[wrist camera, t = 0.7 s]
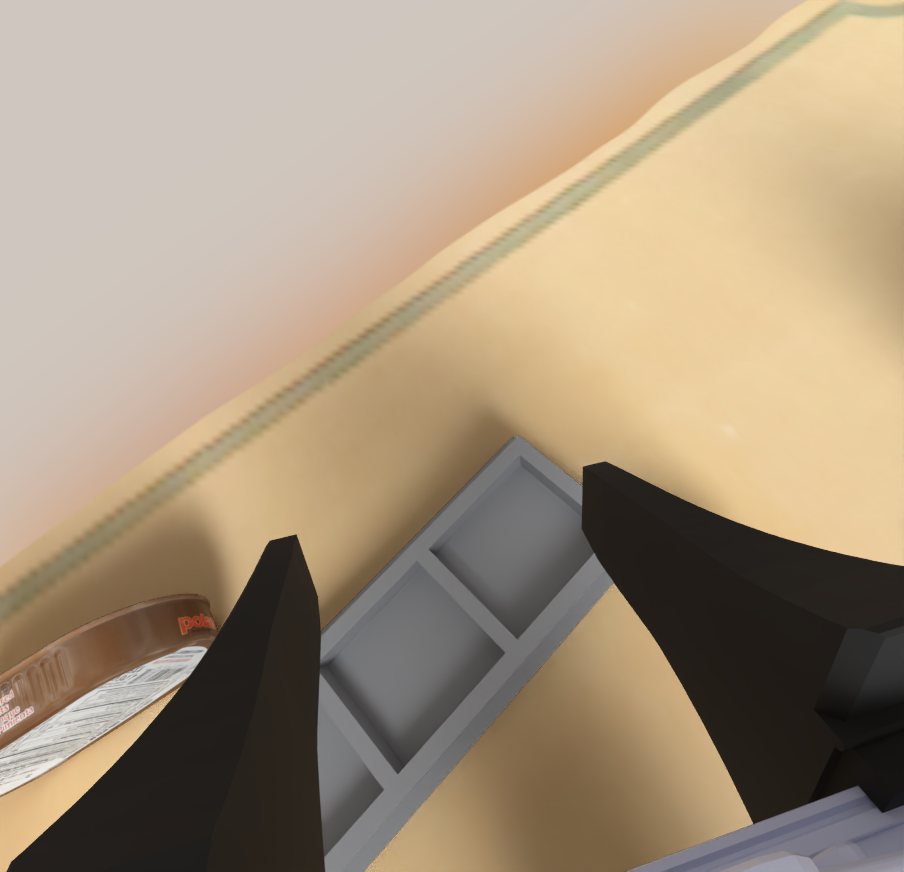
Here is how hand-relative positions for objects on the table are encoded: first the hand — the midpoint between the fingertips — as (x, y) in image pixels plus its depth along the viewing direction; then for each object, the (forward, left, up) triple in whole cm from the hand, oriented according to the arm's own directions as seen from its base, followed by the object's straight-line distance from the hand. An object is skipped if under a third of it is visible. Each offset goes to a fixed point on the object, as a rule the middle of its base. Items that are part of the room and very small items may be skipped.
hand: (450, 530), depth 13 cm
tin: (+11, +18, -16) cm, 26 cm away
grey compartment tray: (+1, +5, -16) cm, 17 cm away
